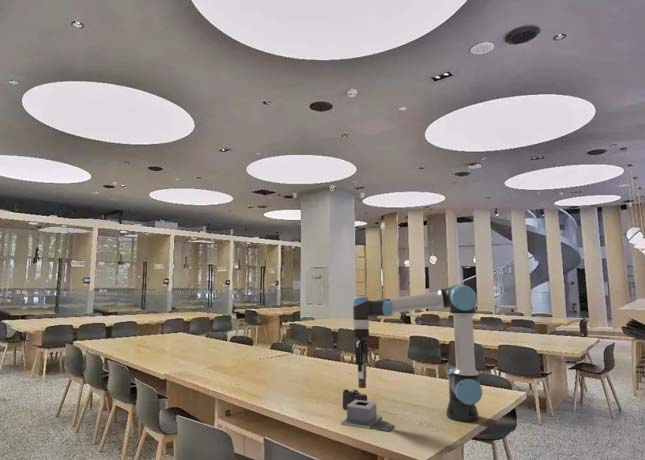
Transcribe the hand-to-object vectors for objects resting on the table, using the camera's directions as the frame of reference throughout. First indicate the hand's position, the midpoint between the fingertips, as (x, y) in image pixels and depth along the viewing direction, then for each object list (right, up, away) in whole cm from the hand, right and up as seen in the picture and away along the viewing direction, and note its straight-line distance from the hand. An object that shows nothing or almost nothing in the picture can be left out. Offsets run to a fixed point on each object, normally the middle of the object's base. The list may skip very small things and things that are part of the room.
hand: (362, 377), depth 196 cm
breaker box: (0, -20, -3) cm, 20 cm away
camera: (-1, -23, +15) cm, 28 cm away
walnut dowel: (0, -5, -1) cm, 5 cm away
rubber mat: (+8, -18, -12) cm, 24 cm away
